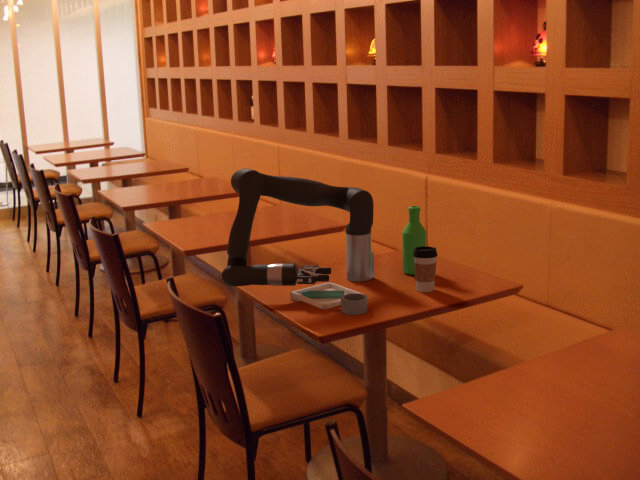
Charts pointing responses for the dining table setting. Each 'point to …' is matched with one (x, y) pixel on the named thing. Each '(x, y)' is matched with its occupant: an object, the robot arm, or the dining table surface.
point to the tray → (321, 302)
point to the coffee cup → (425, 267)
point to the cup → (354, 304)
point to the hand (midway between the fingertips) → (330, 274)
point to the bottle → (412, 239)
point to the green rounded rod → (324, 294)
